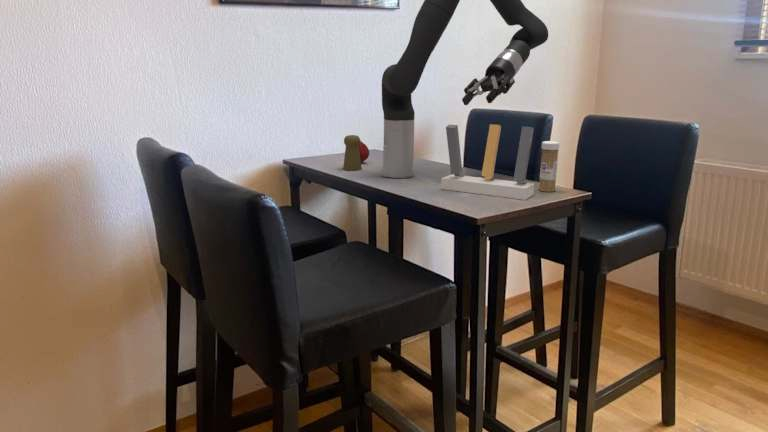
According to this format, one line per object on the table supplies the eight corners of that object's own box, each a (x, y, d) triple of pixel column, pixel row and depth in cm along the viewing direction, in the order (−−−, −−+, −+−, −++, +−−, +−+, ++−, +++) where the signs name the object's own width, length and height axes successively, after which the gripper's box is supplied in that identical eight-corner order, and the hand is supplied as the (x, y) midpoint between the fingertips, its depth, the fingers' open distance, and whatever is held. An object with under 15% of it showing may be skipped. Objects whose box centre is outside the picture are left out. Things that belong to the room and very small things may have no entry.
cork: (359, 171, 190) (358, 136, 187) (340, 170, 191) (340, 136, 189) (363, 167, 196) (363, 134, 193) (345, 167, 197) (345, 133, 194)
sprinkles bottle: (535, 190, 164) (539, 141, 161) (543, 187, 167) (546, 140, 164) (551, 193, 161) (555, 143, 158) (558, 190, 165) (562, 141, 161)
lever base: (440, 189, 166) (441, 177, 165) (451, 184, 171) (452, 173, 170) (524, 199, 153) (525, 187, 153) (533, 194, 159) (534, 182, 158)
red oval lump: (372, 162, 205) (372, 139, 203) (363, 165, 200) (362, 141, 198) (358, 161, 208) (358, 138, 206) (348, 163, 203) (348, 140, 201)
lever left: (451, 177, 166) (445, 127, 159) (454, 173, 168) (448, 124, 160) (459, 178, 165) (454, 128, 157) (462, 174, 166) (457, 125, 159)
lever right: (512, 182, 157) (522, 126, 157) (515, 183, 158) (524, 127, 158) (522, 183, 155) (531, 126, 155) (524, 184, 157) (533, 128, 157)
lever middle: (480, 178, 161) (489, 124, 161) (483, 179, 163) (492, 125, 163) (489, 179, 160) (499, 124, 160) (492, 180, 161) (501, 126, 162)
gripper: (479, 60, 176) (451, 92, 169) (520, 53, 166) (491, 88, 159) (489, 81, 180) (462, 113, 173) (529, 76, 170) (501, 111, 162)
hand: (475, 101), depth 166 cm, fingers open, 8 cm apart
